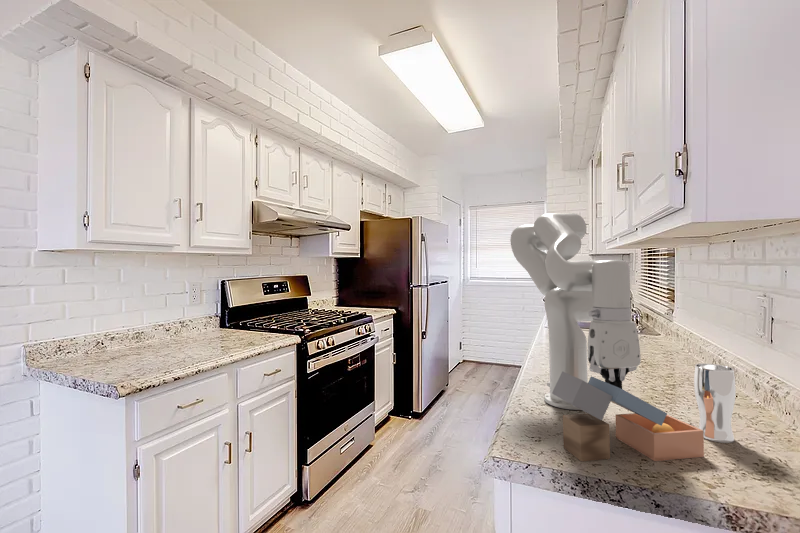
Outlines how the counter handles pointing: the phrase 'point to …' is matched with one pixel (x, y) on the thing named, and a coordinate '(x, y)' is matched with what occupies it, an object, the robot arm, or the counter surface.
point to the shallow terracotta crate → (660, 437)
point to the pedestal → (586, 437)
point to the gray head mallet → (602, 398)
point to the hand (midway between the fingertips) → (613, 397)
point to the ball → (662, 428)
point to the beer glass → (715, 400)
